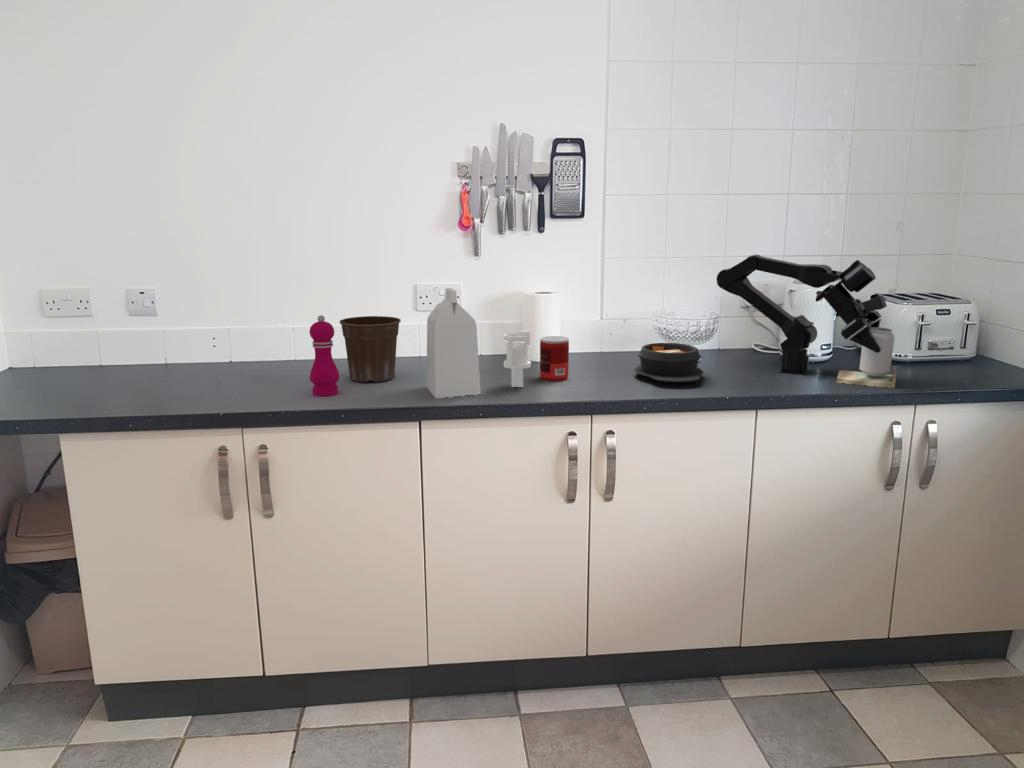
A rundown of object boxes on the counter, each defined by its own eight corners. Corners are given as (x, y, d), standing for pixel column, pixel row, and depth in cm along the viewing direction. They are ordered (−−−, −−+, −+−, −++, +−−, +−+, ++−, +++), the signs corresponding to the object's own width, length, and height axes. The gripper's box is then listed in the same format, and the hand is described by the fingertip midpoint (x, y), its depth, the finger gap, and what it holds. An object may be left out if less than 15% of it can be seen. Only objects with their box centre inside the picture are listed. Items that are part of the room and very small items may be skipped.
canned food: (572, 376, 219) (573, 337, 216) (561, 382, 212) (562, 342, 209) (546, 373, 222) (547, 335, 219) (535, 379, 215) (535, 339, 212)
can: (890, 377, 206) (896, 332, 204) (859, 374, 209) (864, 330, 206) (888, 371, 213) (894, 327, 210) (858, 368, 216) (863, 325, 213)
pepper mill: (313, 390, 204) (308, 313, 200) (341, 389, 205) (337, 312, 200) (308, 397, 197) (303, 317, 193) (338, 396, 198) (333, 317, 193)
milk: (480, 394, 199) (479, 291, 193) (435, 398, 196) (432, 293, 190) (469, 384, 211) (467, 286, 204) (426, 387, 207) (423, 287, 201)
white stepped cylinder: (522, 391, 203) (522, 333, 199) (498, 387, 206) (498, 331, 203) (535, 385, 209) (535, 329, 205) (512, 382, 212) (512, 326, 209)
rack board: (836, 382, 211) (837, 371, 210) (839, 374, 220) (840, 363, 219) (894, 388, 205) (896, 376, 204) (895, 379, 214) (896, 367, 214)
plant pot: (369, 369, 228) (366, 313, 224) (414, 375, 220) (412, 318, 217) (330, 380, 215) (326, 321, 211) (376, 388, 207) (374, 326, 203)
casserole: (626, 368, 229) (626, 339, 227) (689, 367, 230) (691, 338, 228) (644, 389, 205) (645, 357, 203) (715, 388, 206) (717, 356, 204)
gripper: (859, 287, 200) (901, 335, 197) (877, 280, 215) (916, 325, 211) (824, 315, 207) (864, 362, 203) (843, 306, 221) (881, 350, 218)
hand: (882, 349), depth 209 cm, fingers closed on can, 7 cm apart
